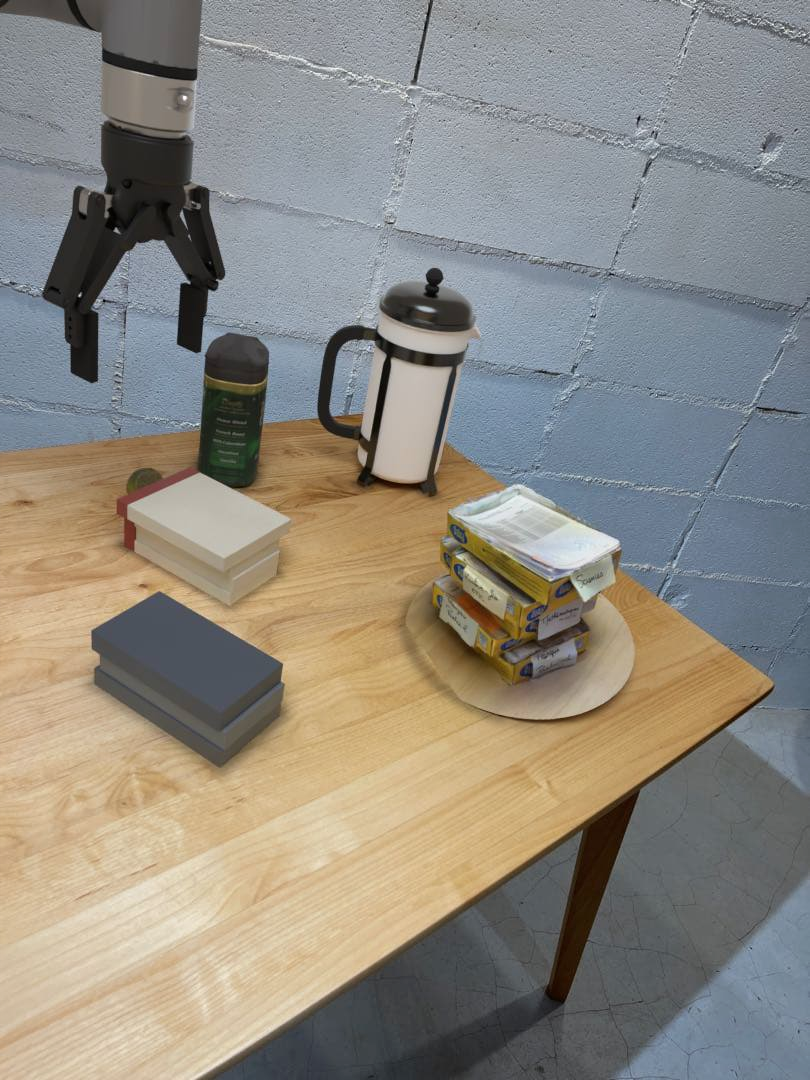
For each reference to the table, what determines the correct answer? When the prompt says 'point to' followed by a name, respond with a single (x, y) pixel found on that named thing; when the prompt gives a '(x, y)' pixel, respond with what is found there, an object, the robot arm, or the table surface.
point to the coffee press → (406, 380)
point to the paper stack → (524, 609)
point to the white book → (204, 518)
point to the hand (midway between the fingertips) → (139, 362)
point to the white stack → (204, 565)
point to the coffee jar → (233, 409)
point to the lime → (142, 479)
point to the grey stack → (188, 676)
